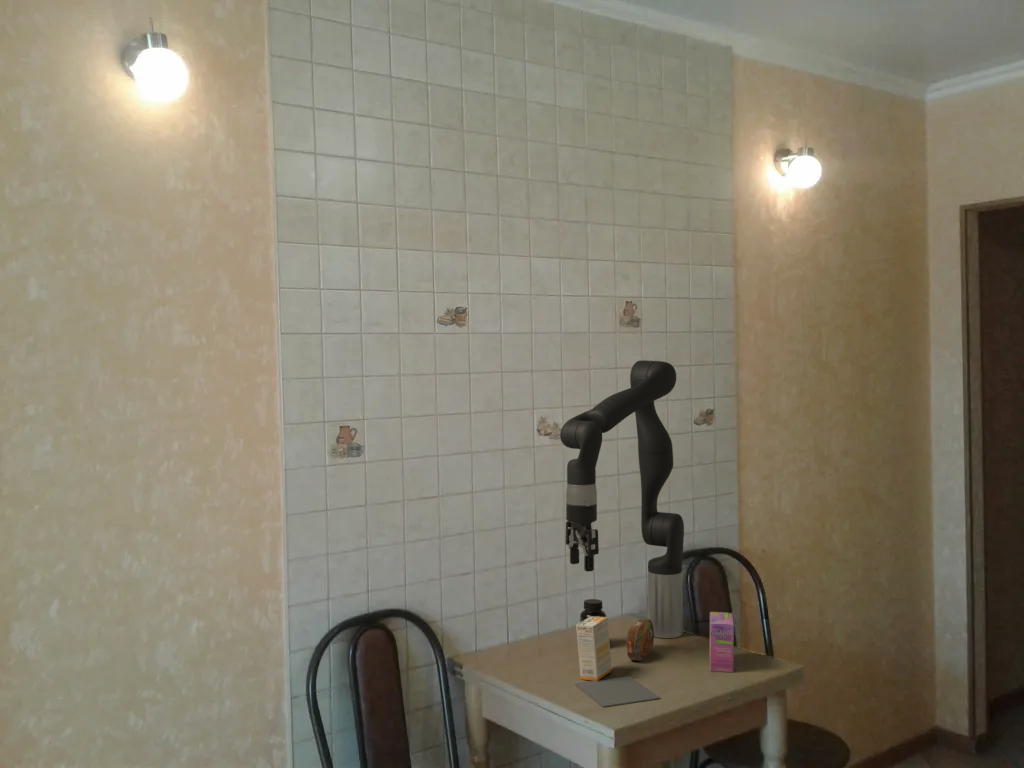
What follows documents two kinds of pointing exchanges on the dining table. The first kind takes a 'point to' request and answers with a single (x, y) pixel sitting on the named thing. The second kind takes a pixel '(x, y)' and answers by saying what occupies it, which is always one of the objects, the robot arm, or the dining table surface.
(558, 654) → the dining table surface
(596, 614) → the supplement bottle
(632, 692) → the mat
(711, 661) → the box
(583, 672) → the supplement box
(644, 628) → the tin
